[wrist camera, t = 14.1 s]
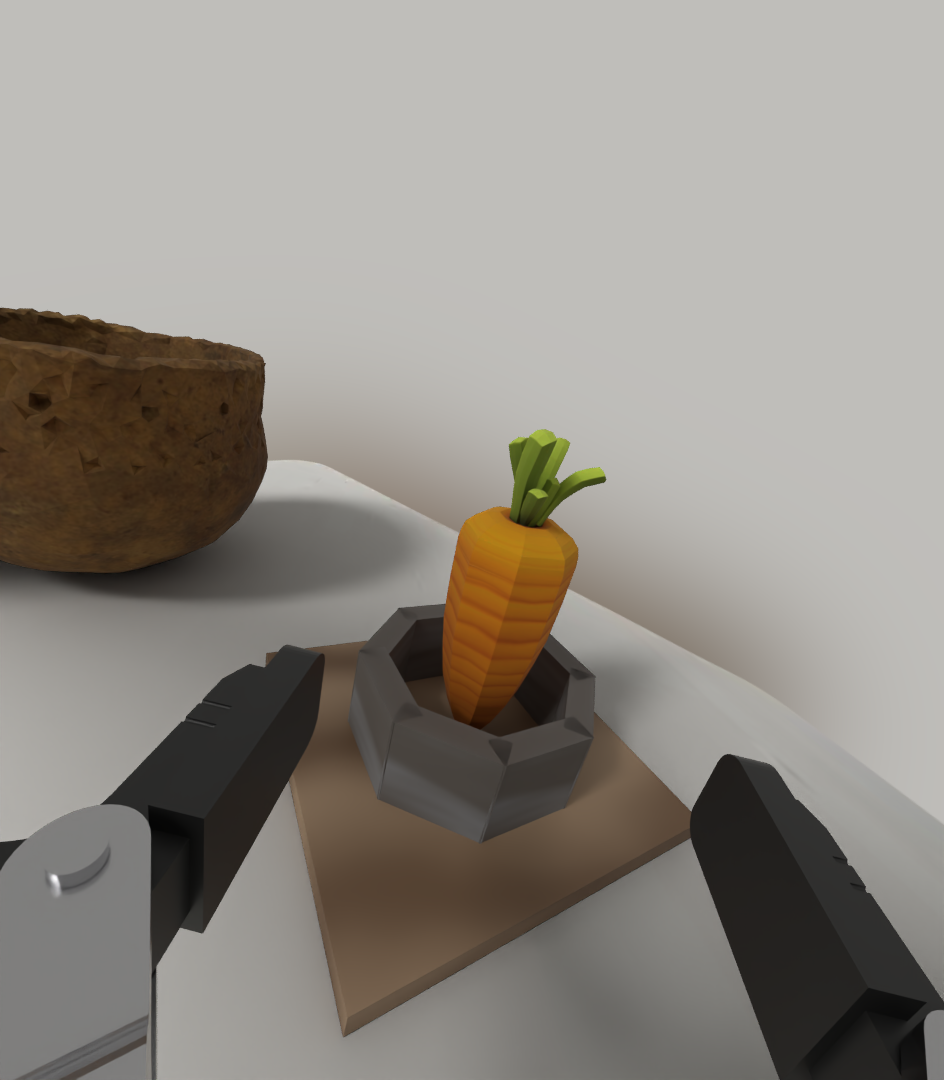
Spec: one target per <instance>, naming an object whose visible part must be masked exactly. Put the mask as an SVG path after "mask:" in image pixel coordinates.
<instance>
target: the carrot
mask: <svg viewBox="0 0 944 1080" xmlns="http://www.w3.org/2000/svg"><path fill="white" fill-rule="evenodd" d="M569 445H570V442H569V441H567V440H566V439H562V438H556V437H555V435H554V434H553V432H551V431H548V430H546V429H544V430H537V431H536V432H534V433H533V434H531V435H530V436H529V438H523V437H518V438H517V439H515V440H514V441H512V442H511V443H510V444H509V451H510V459H511V464H512V470H513V475H514V481H515V483H514V490H513V498H512V505H511V508H507V507H494V508H491V509H488V510H486V511H483V512H481V513H478V514H476V515H474V516H472V517H471V518H469V519H467V520H466V521H465V523H464V525H463V526H462V528H461V531H460V534H459V536H458V541H457V546H456V551H455V556H454V561H453V566H452V571H451V576H450V581H449V587H448V593H447V599H446V605H445V611H444V624H443V676H444V682H445V688H446V693H447V698H448V701H449V705H450V708H451V711H452V714H453V717H454V720H456V721H458V722H461V723H464V724H466V725H469V726H471V727H474V728H477V729H479V730H481V729H482V728H483V727H485V726H486V725H487V724H489V723H490V722H491V721H492V720H493V719H494V718H495V717H496V716H497V715H498V714H499V712H500V711H501V710H502V709H503V708H504V707H505V706H506V704H507V703H508V702H509V701H510V699H511V698H512V697H513V695H514V694H515V693H516V691H517V690H518V688H519V687H520V685H521V684H522V682H523V680H524V679H525V677H526V676H527V674H528V672H529V671H530V669H531V668H532V666H533V664H534V662H535V661H536V659H537V657H538V655H539V654H540V652H541V650H542V648H543V647H544V645H545V643H546V641H547V639H548V636H549V634H550V632H551V629H552V627H553V624H554V622H555V620H556V617H557V615H558V612H559V610H560V608H561V605H562V603H563V600H564V597H565V595H566V592H567V589H568V586H569V584H570V581H571V579H572V576H573V573H574V571H575V568H576V565H577V560H578V547H577V546H576V544H575V542H574V540H573V538H571V537H570V536H569V535H568V534H567V533H566V532H565V531H564V530H563V529H562V528H560V527H559V526H558V525H557V524H556V523H555V522H554V521H553V520H551V519H548V516H549V515H550V514H551V513H552V511H553V510H554V509H555V508H556V507H557V506H558V505H559V504H560V503H561V502H562V501H563V500H564V499H566V498H567V497H569V496H570V495H572V494H573V493H575V492H577V491H578V490H580V489H582V488H584V487H587V486H591V485H596V484H600V483H604V482H605V481H606V477H605V474H604V472H603V471H602V469H601V468H600V467H598V468H589V469H585V470H582V471H578V472H575V473H574V474H572V475H571V476H569V477H568V478H566V479H565V480H564V481H563V482H561V483H560V484H559V482H558V480H557V478H555V476H556V474H557V471H558V469H559V467H560V465H561V463H562V461H563V459H564V457H565V455H566V453H567V451H568V448H569Z"/></svg>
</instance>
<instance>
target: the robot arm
mask: <svg viewBox="0 0 944 1080" xmlns="http://www.w3.org/2000/svg"><path fill="white" fill-rule="evenodd" d="M324 666H325V655H324V654H323V653H319V652H315V651H311V650H307V649H303V648H299V647H295V646H291V645H285V646H283V647H282V648H281V649H280V650H279V652H278V653H277V654H276V655H275V656H274V657H273V659H272V660H271V661H270V662H269V663H268V664H267V666H266V667H265V668H264V667H260V666H256V665H252V664H249V665H247V666H245V667H243V668H242V669H240V670H238V671H236V672H234V673H232V674H230V675H228V676H227V677H225V678H223V679H222V680H221V681H220V682H219V683H218V684H217V685H216V686H215V687H214V688H213V689H212V690H211V691H210V692H209V693H208V694H207V696H206V697H205V698H204V699H203V701H202V703H201V704H200V703H199V704H198V705H197V706H196V707H195V708H194V709H193V710H192V711H191V712H190V713H189V714H188V715H187V716H186V719H185V721H184V722H181V723H180V724H179V725H178V726H177V727H176V728H175V729H174V730H173V731H172V732H171V733H170V734H169V735H168V736H167V737H166V738H165V739H164V740H163V741H162V742H161V743H160V745H159V746H158V747H157V748H156V749H155V750H154V751H153V752H152V753H151V754H150V755H149V756H148V757H147V758H146V759H145V760H144V761H143V762H142V763H141V764H140V765H139V766H138V767H137V769H136V770H135V771H134V772H133V773H132V774H131V775H130V776H129V777H128V778H127V779H126V780H125V781H124V782H123V783H122V784H121V785H120V786H119V787H118V788H117V789H116V790H115V791H114V792H113V794H112V795H110V796H109V797H108V798H107V799H106V800H105V801H104V802H103V803H102V804H100V805H97V806H92V807H87V808H83V809H80V810H77V811H74V812H71V813H69V814H67V815H65V816H62V817H60V818H58V819H56V820H54V821H53V822H51V823H49V824H47V825H46V826H44V827H43V828H41V829H40V830H38V831H37V832H35V833H34V834H33V835H32V836H30V837H29V838H28V839H23V840H16V841H7V842H0V1080H157V965H158V963H159V961H160V960H161V958H162V956H163V955H164V953H165V951H166V950H167V948H168V946H169V945H170V943H171V941H172V940H173V938H174V936H175V935H176V933H177V932H178V930H179V928H183V929H187V930H191V931H195V932H199V933H203V932H204V930H205V929H206V927H207V925H208V923H209V921H210V920H211V918H212V916H213V914H214V913H215V911H216V909H217V907H218V905H219V904H220V902H221V900H222V898H223V896H224V895H225V893H226V891H227V889H228V888H229V886H230V884H231V882H232V880H233V879H234V877H235V875H236V873H237V871H238V870H239V868H240V866H241V864H242V863H243V861H244V859H245V857H246V855H247V854H248V852H249V850H250V848H251V846H252V845H253V843H254V841H255V839H256V838H257V836H258V834H259V832H260V830H261V829H262V827H263V825H264V823H265V821H266V820H267V818H268V816H269V814H270V813H271V811H272V809H273V807H274V805H275V804H276V802H277V800H278V798H279V796H280V795H281V793H282V791H283V789H284V788H285V786H286V784H287V782H288V780H289V779H290V777H291V775H292V773H293V771H294V770H295V768H296V766H297V764H298V763H299V761H300V759H301V757H302V755H303V754H304V752H305V750H306V748H307V746H308V744H309V742H310V740H311V737H312V735H313V732H314V729H315V726H316V723H317V718H318V713H319V706H320V698H321V690H322V682H323V674H324ZM690 835H691V840H692V844H693V847H694V850H695V852H696V855H697V858H698V860H699V863H700V866H701V868H702V871H703V874H704V877H705V879H706V882H707V885H708V887H709V890H710V893H711V895H712V898H713V901H714V904H715V906H716V909H717V912H718V914H719V917H720V920H721V922H722V925H723V928H724V931H725V933H726V936H727V939H728V941H729V944H730V947H731V949H732V952H733V955H734V958H735V960H736V963H737V966H738V968H739V971H740V974H741V977H742V979H743V982H744V985H745V987H746V990H747V993H748V995H749V998H750V1001H751V1004H752V1006H753V1009H754V1012H755V1014H756V1017H757V1020H758V1022H759V1025H760V1028H761V1031H762V1033H763V1036H764V1039H765V1041H766V1044H767V1047H768V1049H769V1052H770V1055H771V1058H772V1060H773V1063H774V1066H775V1068H776V1071H777V1074H778V1076H779V1079H780V1080H944V1002H943V1000H942V999H941V997H940V996H939V994H938V993H937V991H936V990H935V988H934V987H933V985H932V984H931V982H930V981H929V979H928V978H927V976H926V975H925V974H924V972H923V971H922V969H921V968H920V966H919V965H918V963H917V962H916V960H915V959H914V957H913V956H912V954H911V953H910V951H909V950H908V948H907V947H906V945H905V944H904V942H903V941H902V939H901V938H900V937H899V935H898V934H897V932H896V931H895V929H894V928H893V926H892V925H891V923H890V922H889V920H888V919H887V917H886V916H885V914H884V913H883V911H882V910H881V908H880V907H879V905H878V904H877V902H876V901H875V900H874V898H873V897H872V895H871V894H870V893H867V892H866V890H865V887H866V886H865V885H864V883H863V882H862V880H861V879H860V877H859V876H858V874H857V873H856V871H855V870H854V868H853V867H852V866H849V865H848V864H847V858H846V857H845V855H844V854H843V852H842V851H841V849H840V848H839V846H838V845H837V843H836V842H835V840H834V839H833V837H832V836H831V834H830V833H829V831H828V830H827V829H826V828H825V827H824V826H823V825H822V824H821V822H820V821H819V820H818V819H817V818H816V817H815V816H814V815H813V814H812V813H811V812H810V811H809V810H808V809H807V808H806V807H805V806H804V805H803V804H802V803H801V802H800V801H799V800H796V799H795V798H794V796H793V795H792V793H791V792H790V790H789V789H788V787H787V786H786V784H785V783H784V781H783V779H782V778H781V776H780V775H779V773H778V772H777V771H776V769H775V768H774V767H773V766H771V765H770V764H767V763H764V762H760V761H755V760H751V759H747V758H743V757H739V756H735V755H731V754H727V755H724V756H722V757H721V758H720V760H719V761H718V763H717V765H716V767H715V768H714V770H713V772H712V774H711V776H710V778H709V779H708V781H707V783H706V785H705V787H704V788H703V790H702V792H701V794H700V796H699V798H698V799H697V801H696V803H695V805H694V807H693V809H692V812H691V817H690Z"/></svg>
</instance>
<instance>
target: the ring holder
mask: <svg viewBox="0 0 944 1080" xmlns="http://www.w3.org/2000/svg"><path fill="white" fill-rule="evenodd" d="M445 605H446V604H440V605H428V606H417V607H406V608H398V610H397V611H396V612H395V613H394V614H393V615H392V616H391V617H390V618H389V619H388V620H387V622H386V623H385V624H384V625H383V626H382V627H381V628H380V629H379V630H378V631H377V632H376V633H375V634H374V635H373V636H372V638H371V639H370V640H369V641H362V642H354V643H345V644H337V645H329V646H321V647H313V648H305V649H307V650H311V651H315V652H319V653H323V654H324V655H325V666H324V674H323V682H322V690H321V698H320V706H319V713H318V718H317V723H316V726H315V729H314V732H313V735H312V737H311V740H310V742H309V744H308V746H307V748H306V750H305V752H304V754H303V755H302V757H301V759H300V761H299V763H298V764H297V766H296V768H295V770H294V771H293V773H292V775H291V777H290V779H289V782H290V787H291V792H292V797H293V801H294V806H295V811H296V816H297V820H298V825H299V830H300V835H301V839H302V844H303V849H304V854H305V858H306V863H307V868H308V873H309V877H310V882H311V887H312V892H313V896H314V901H315V906H316V910H317V915H318V920H319V925H320V929H321V934H322V939H323V944H324V948H325V953H326V958H327V963H328V967H329V972H330V977H331V982H332V986H333V991H334V996H335V1001H336V1005H337V1010H338V1015H339V1020H340V1024H341V1029H342V1034H343V1037H345V1036H346V1035H348V1034H350V1033H352V1032H353V1031H355V1030H357V1029H359V1028H360V1027H362V1026H364V1025H365V1024H367V1023H369V1022H371V1021H372V1020H374V1019H376V1018H378V1017H379V1016H381V1015H383V1014H385V1013H386V1012H388V1011H390V1010H392V1009H393V1008H395V1007H397V1006H399V1005H400V1004H402V1003H404V1002H405V1001H407V1000H409V999H411V998H412V997H414V996H416V995H418V994H419V993H421V992H423V991H425V990H426V989H428V988H430V987H432V986H433V985H435V984H437V983H438V982H440V981H442V980H444V979H445V978H447V977H449V976H451V975H452V974H454V973H456V972H458V971H459V970H461V969H463V968H465V967H466V966H468V965H470V964H472V963H473V962H475V961H477V960H478V959H480V958H482V957H484V956H485V955H487V954H489V953H491V952H492V951H494V950H496V949H498V948H499V947H501V946H503V945H505V944H506V943H508V942H510V941H512V940H513V939H515V938H517V937H518V936H520V935H522V934H524V933H525V932H527V931H529V930H531V929H532V928H534V927H536V926H538V925H539V924H541V923H543V922H545V921H546V920H548V919H550V918H552V917H553V916H555V915H557V914H558V913H560V912H562V911H564V910H565V909H567V908H569V907H571V906H572V905H574V904H576V903H578V902H579V901H581V900H583V899H585V898H586V897H588V896H590V895H591V894H593V893H595V892H597V891H598V890H600V889H602V888H604V887H605V886H607V885H609V884H611V883H612V882H614V881H616V880H618V879H619V878H621V877H623V876H625V875H626V874H628V873H630V872H631V871H633V870H635V869H637V868H638V867H640V866H642V865H644V864H645V863H647V862H649V861H651V860H652V859H654V858H656V857H658V856H659V855H661V854H663V853H665V852H666V851H668V850H670V849H671V848H673V847H675V846H677V845H678V844H680V843H682V842H684V841H685V840H687V839H689V838H691V835H690V817H691V811H690V810H689V809H688V808H687V807H686V806H685V805H684V804H683V803H682V802H681V801H680V800H679V799H678V798H677V797H676V796H675V795H674V794H673V793H672V792H671V791H670V789H669V788H668V787H667V786H666V785H665V784H664V783H663V782H662V781H661V780H660V779H659V778H658V777H657V776H656V775H655V774H654V773H653V772H652V771H651V770H650V769H649V768H648V767H647V766H646V765H645V764H644V763H643V762H642V761H641V760H640V759H639V758H638V757H637V756H636V754H635V753H634V752H633V751H632V750H631V749H630V748H629V747H628V746H627V745H626V744H625V743H624V742H623V741H622V740H621V739H620V738H619V737H618V736H617V735H616V734H615V733H614V732H613V731H612V730H611V729H610V728H609V727H608V726H607V725H606V724H605V723H604V722H603V720H602V719H601V718H600V717H599V716H598V715H597V714H596V713H595V712H594V695H595V675H593V674H592V673H591V672H590V671H589V670H588V669H587V668H586V667H585V666H584V665H583V664H581V663H580V662H579V661H578V660H577V659H576V658H575V657H574V656H573V655H572V654H571V653H570V652H569V651H568V650H567V649H566V648H564V647H563V646H562V645H561V644H560V643H559V642H558V641H557V640H556V639H555V638H554V637H553V636H552V635H551V634H549V636H548V639H547V641H546V643H545V645H544V647H543V648H542V650H541V652H540V654H539V655H538V657H537V659H536V661H535V662H534V664H533V666H532V668H531V669H530V671H529V672H528V674H527V676H526V677H525V679H524V680H523V682H522V684H521V685H520V687H519V688H518V690H517V691H516V693H515V694H514V695H513V697H512V698H511V699H510V701H509V702H508V703H507V704H506V706H505V707H504V708H503V709H502V710H501V711H500V712H499V714H498V715H497V716H496V717H495V718H494V719H493V720H492V721H491V722H490V723H489V724H487V725H486V726H485V727H483V728H482V729H481V730H479V729H477V728H474V727H471V726H469V725H466V724H464V723H461V722H458V721H456V720H454V717H453V714H452V711H451V708H450V705H449V701H448V698H447V693H446V688H445V682H444V676H443V624H444V611H445ZM277 653H278V652H272V653H266V666H267V664H268V663H269V662H270V661H271V660H272V659H273V657H274V656H275V655H276V654H277Z"/></svg>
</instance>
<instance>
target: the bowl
mask: <svg viewBox="0 0 944 1080" xmlns="http://www.w3.org/2000/svg"><path fill="white" fill-rule="evenodd" d="M265 364H266V363H264V360H263V358H262V357H261V356H260V355H259V354H256V353H254V352H252V351H249V350H246V349H242V348H241V347H235V346H232V345H230V344H223V343H213V342H210V341H207V340H205V339H192V338H190V337H172V336H168V335H163V334H158V333H146V332H143V331H141V330H138V329H136V328H134V327H130V326H122V325H118V324H112V323H105V322H104V321H102V320H100V319H96V320H90V319H89V318H88V317H86V316H83V315H68V316H63V315H62V314H60V313H59V312H56V313H55V312H51V311H44V312H38V311H36V310H34V309H21V308H20V309H17V310H15V309H9V308H0V560H1V561H4V562H7V563H10V564H14V565H19V566H23V567H27V568H32V569H38V570H45V571H62V572H94V573H117V572H126V571H130V570H135V569H139V568H144V567H147V566H151V565H154V564H157V563H161V562H164V561H167V560H171V559H174V558H177V557H180V556H183V555H185V554H187V553H190V552H192V551H195V550H197V549H200V548H202V547H204V546H207V545H209V544H211V543H213V542H214V541H216V540H217V539H218V538H219V537H220V536H221V535H223V534H224V533H225V532H226V531H227V530H228V529H229V528H230V527H231V526H232V525H234V524H235V523H236V522H237V521H238V520H239V519H240V518H241V517H242V515H243V514H244V512H245V511H246V510H247V508H248V507H249V505H250V504H251V503H252V501H253V499H254V497H255V495H256V493H257V491H258V489H259V486H260V484H261V482H262V480H263V477H264V474H265V472H266V469H267V459H268V454H267V447H266V439H265V433H264V428H263V423H262V418H261V414H262V409H263V395H264V384H265V370H264V366H265Z"/></svg>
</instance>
